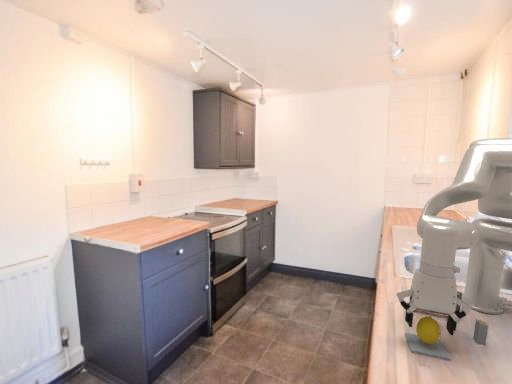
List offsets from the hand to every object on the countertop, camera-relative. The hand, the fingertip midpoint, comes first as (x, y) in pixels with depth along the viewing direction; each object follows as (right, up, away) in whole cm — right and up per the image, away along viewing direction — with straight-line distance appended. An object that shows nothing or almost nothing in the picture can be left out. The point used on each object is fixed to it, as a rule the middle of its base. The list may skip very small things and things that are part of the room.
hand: (429, 328), depth 75 cm
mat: (-1, -5, 0) cm, 5 cm away
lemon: (-1, -5, 0) cm, 5 cm away
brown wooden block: (+11, -3, +17) cm, 20 cm away
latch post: (+16, -6, +3) cm, 18 cm away
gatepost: (+18, -4, +15) cm, 24 cm away
